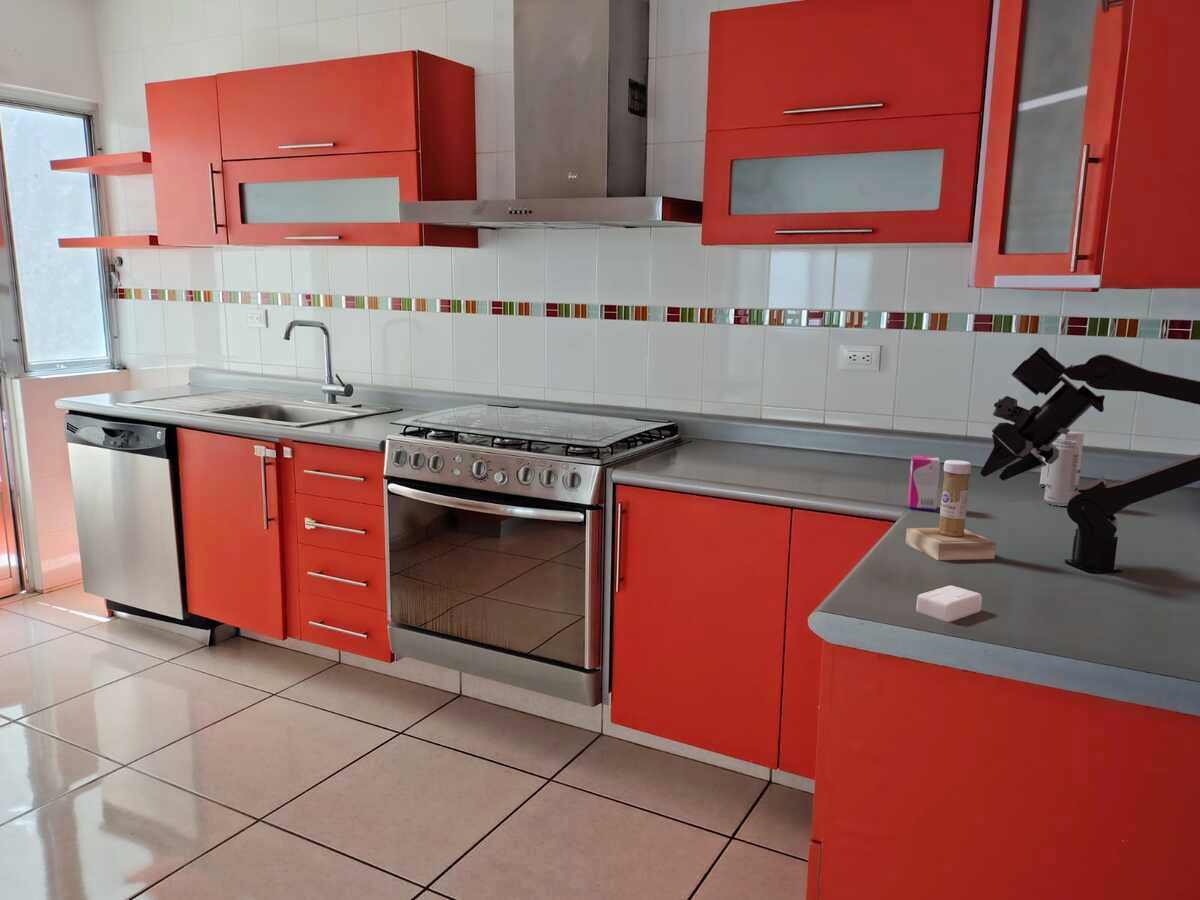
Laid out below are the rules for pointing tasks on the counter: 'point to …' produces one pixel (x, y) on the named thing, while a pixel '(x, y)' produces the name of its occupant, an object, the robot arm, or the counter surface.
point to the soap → (949, 603)
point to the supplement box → (923, 483)
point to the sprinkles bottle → (954, 498)
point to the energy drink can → (1062, 473)
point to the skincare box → (1079, 439)
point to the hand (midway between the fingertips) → (991, 477)
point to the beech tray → (950, 544)
